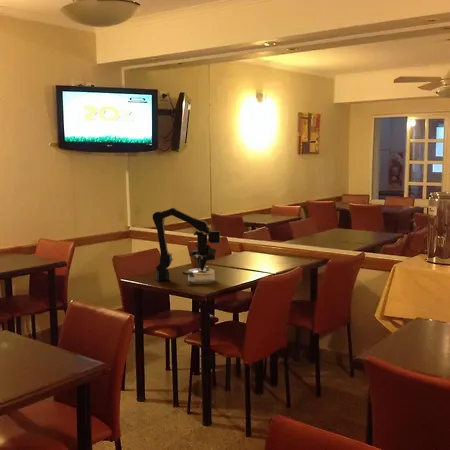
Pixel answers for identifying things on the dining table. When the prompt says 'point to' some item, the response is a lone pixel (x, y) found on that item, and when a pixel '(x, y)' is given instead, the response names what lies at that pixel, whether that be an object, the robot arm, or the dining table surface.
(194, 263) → the disposable coffee cup
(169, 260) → the robot arm
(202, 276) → the pot
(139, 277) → the dining table surface
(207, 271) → the lid
